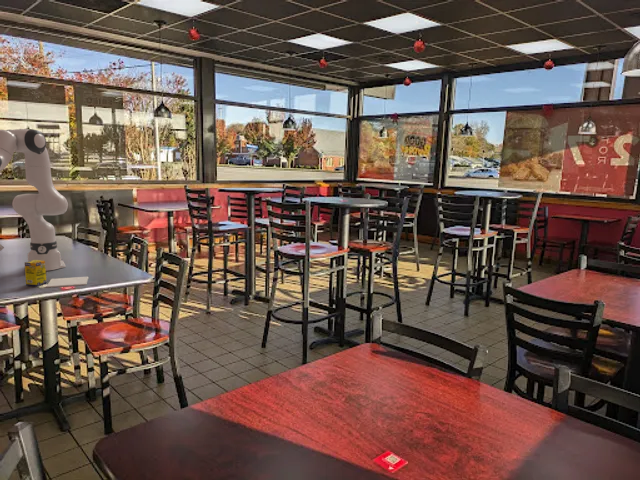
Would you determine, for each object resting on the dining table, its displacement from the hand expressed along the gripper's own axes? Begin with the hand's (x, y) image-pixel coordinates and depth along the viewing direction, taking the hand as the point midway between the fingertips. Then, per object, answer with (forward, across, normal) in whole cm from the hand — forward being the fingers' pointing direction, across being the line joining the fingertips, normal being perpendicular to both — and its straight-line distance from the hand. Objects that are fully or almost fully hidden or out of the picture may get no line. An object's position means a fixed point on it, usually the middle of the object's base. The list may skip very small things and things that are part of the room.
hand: (2, 249), depth 208 cm
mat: (+30, 0, -6) cm, 30 cm away
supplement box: (+21, 0, +4) cm, 21 cm away
